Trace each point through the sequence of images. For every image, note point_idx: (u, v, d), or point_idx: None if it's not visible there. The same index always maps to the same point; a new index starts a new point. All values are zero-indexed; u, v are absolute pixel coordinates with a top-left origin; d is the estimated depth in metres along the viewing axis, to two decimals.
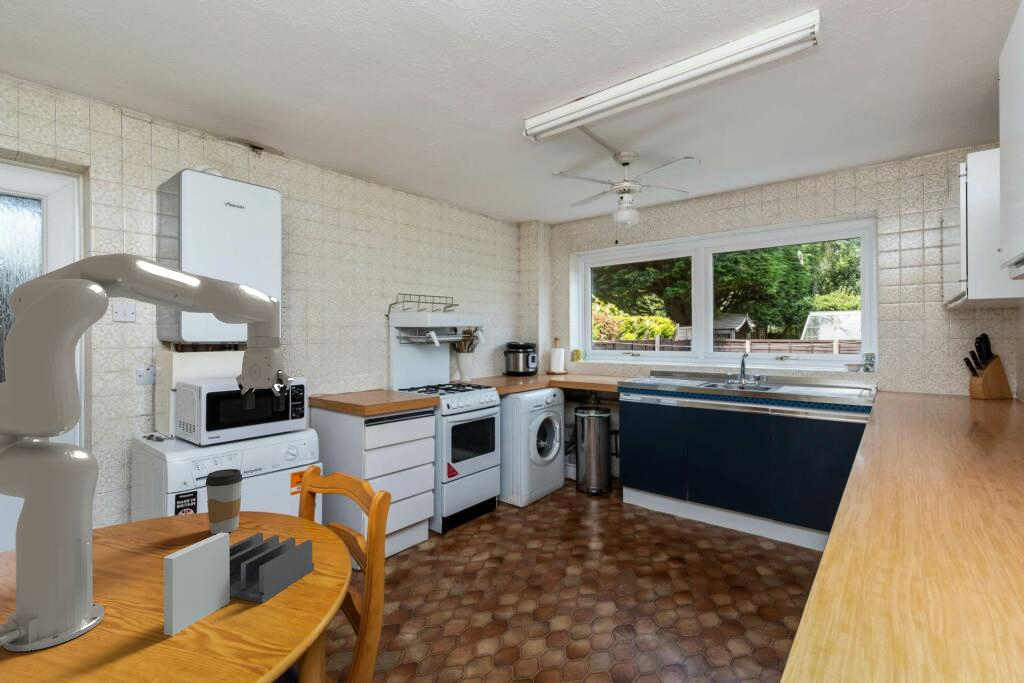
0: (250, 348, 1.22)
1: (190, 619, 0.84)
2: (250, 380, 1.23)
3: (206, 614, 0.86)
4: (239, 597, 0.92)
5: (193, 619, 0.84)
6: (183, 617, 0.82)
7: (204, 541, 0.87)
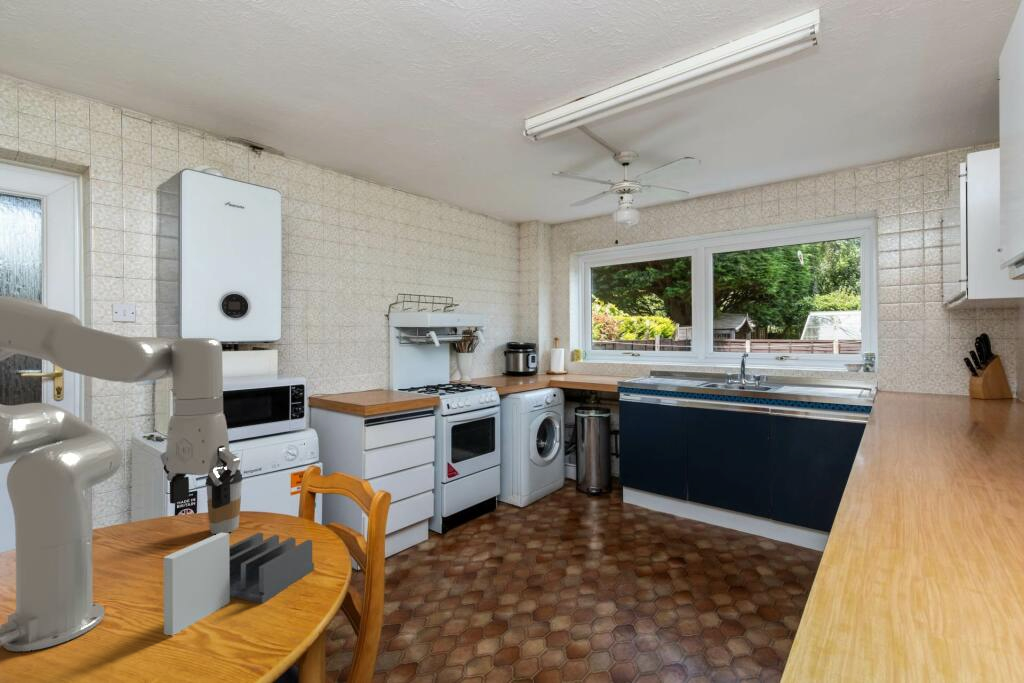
0: (176, 416, 0.83)
1: (190, 619, 0.84)
2: (178, 462, 0.84)
3: (206, 614, 0.86)
4: (239, 597, 0.92)
5: (193, 619, 0.84)
6: (183, 617, 0.82)
7: (204, 541, 0.87)
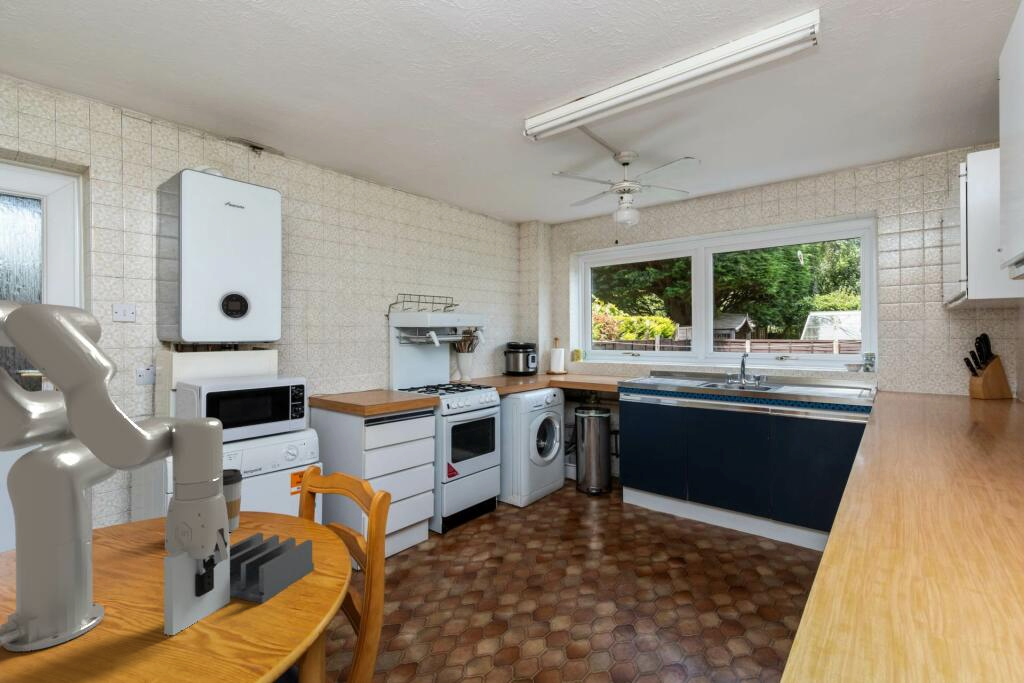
0: (176, 500, 0.83)
1: (190, 619, 0.84)
2: (177, 545, 0.84)
3: (206, 614, 0.86)
4: (239, 597, 0.92)
5: (193, 619, 0.84)
6: (183, 616, 0.82)
7: None
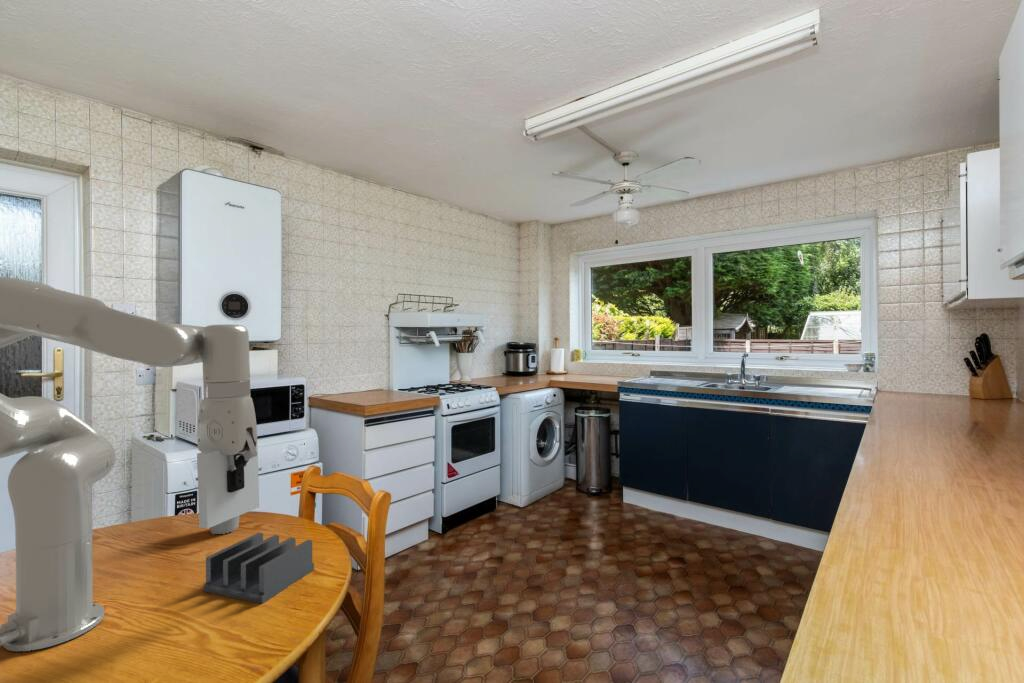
0: (207, 399, 0.87)
1: (223, 515, 0.88)
2: (209, 443, 0.88)
3: (238, 513, 0.91)
4: (239, 597, 0.92)
5: (226, 516, 0.88)
6: (216, 511, 0.86)
7: None
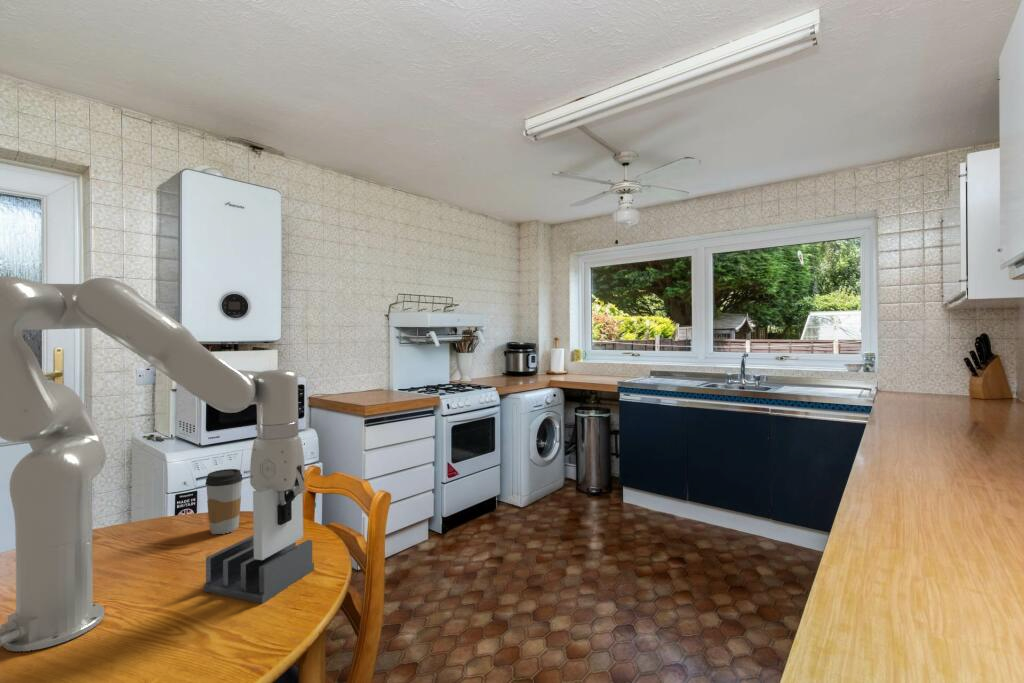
0: (261, 440, 0.95)
1: (274, 547, 0.96)
2: (261, 480, 0.96)
3: (286, 545, 0.99)
4: (239, 597, 0.92)
5: (276, 547, 0.96)
6: (269, 544, 0.94)
7: None
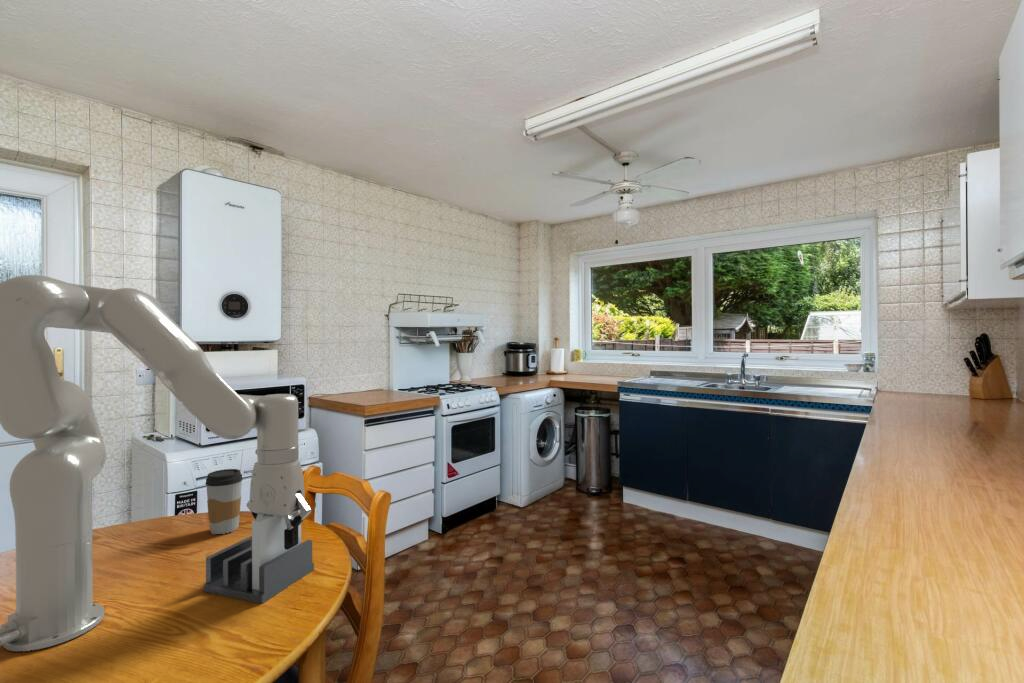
0: (261, 465, 0.95)
1: None
2: (261, 505, 0.96)
3: None
4: (239, 597, 0.92)
5: None
6: None
7: None
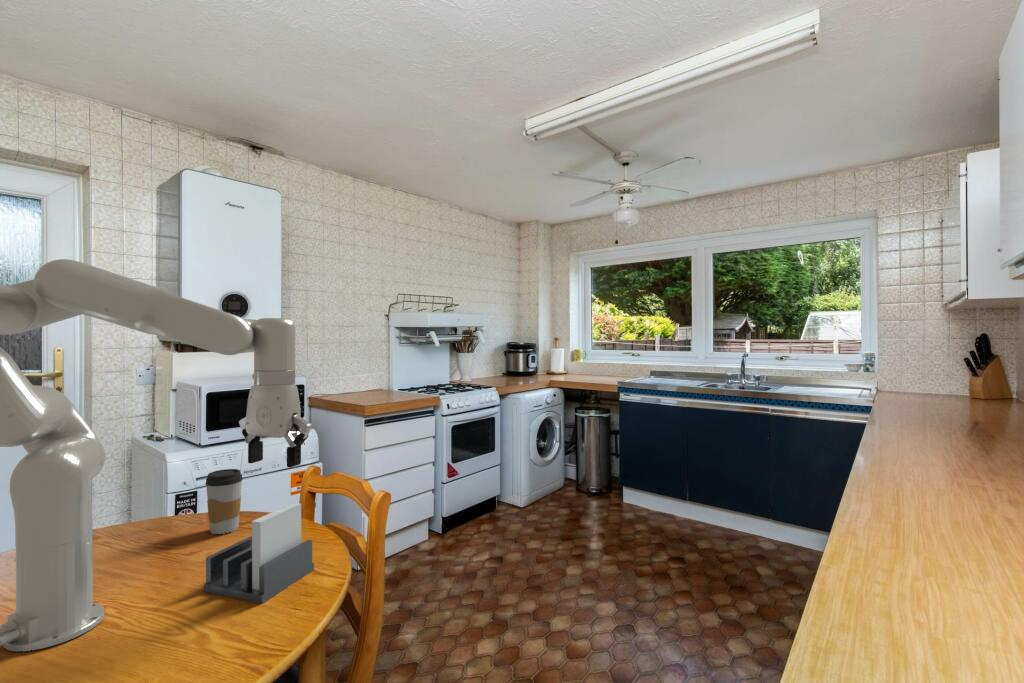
0: (258, 386, 0.95)
1: None
2: (257, 426, 0.96)
3: None
4: (239, 597, 0.92)
5: None
6: None
7: (282, 509, 0.99)
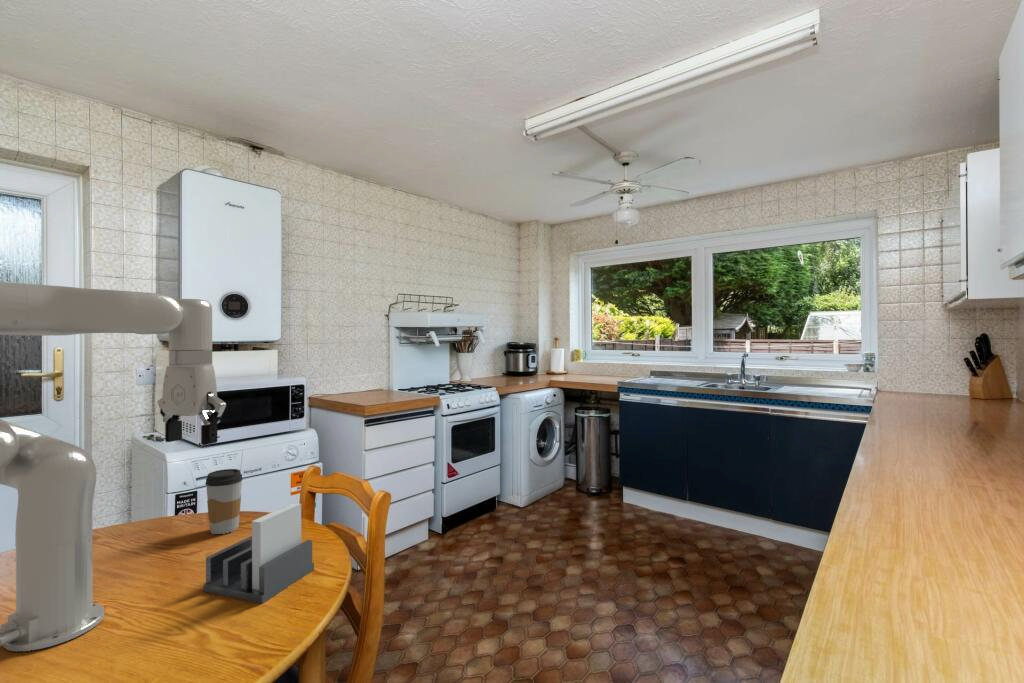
0: (171, 365, 0.96)
1: None
2: (172, 405, 0.98)
3: None
4: (239, 597, 0.92)
5: None
6: None
7: (282, 509, 0.99)
